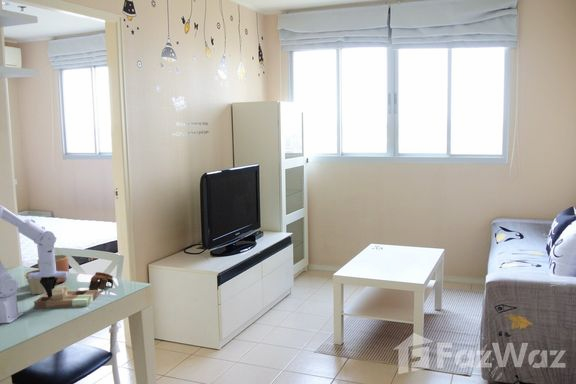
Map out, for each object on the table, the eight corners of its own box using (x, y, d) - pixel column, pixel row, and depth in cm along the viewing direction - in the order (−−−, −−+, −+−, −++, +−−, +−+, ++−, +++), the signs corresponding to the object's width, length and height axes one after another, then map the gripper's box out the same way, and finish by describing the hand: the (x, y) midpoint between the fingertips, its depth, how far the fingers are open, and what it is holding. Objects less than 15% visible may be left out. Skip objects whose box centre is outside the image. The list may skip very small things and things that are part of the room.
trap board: (87, 306, 200) (86, 299, 200) (34, 308, 201) (34, 301, 200) (98, 296, 212) (98, 289, 212) (49, 297, 213) (48, 291, 212)
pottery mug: (84, 290, 222) (90, 271, 225) (106, 296, 227) (112, 277, 230) (92, 289, 213) (98, 269, 215) (114, 295, 217) (120, 276, 220)
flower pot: (41, 296, 215) (39, 275, 214) (21, 295, 217) (19, 275, 216) (56, 289, 224) (54, 269, 223) (36, 288, 226) (34, 269, 225)
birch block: (63, 299, 202) (62, 289, 201) (52, 299, 202) (51, 289, 201) (67, 296, 206) (66, 286, 205) (57, 296, 206) (56, 286, 205)
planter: (48, 278, 242) (45, 255, 241) (74, 277, 241) (72, 254, 240) (34, 286, 230) (31, 262, 228) (62, 285, 229) (59, 261, 228)
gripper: (70, 258, 205) (73, 292, 207) (33, 259, 206) (36, 293, 207) (62, 262, 198) (66, 297, 200) (24, 264, 199) (28, 299, 200)
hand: (50, 296), depth 203 cm, fingers closed
